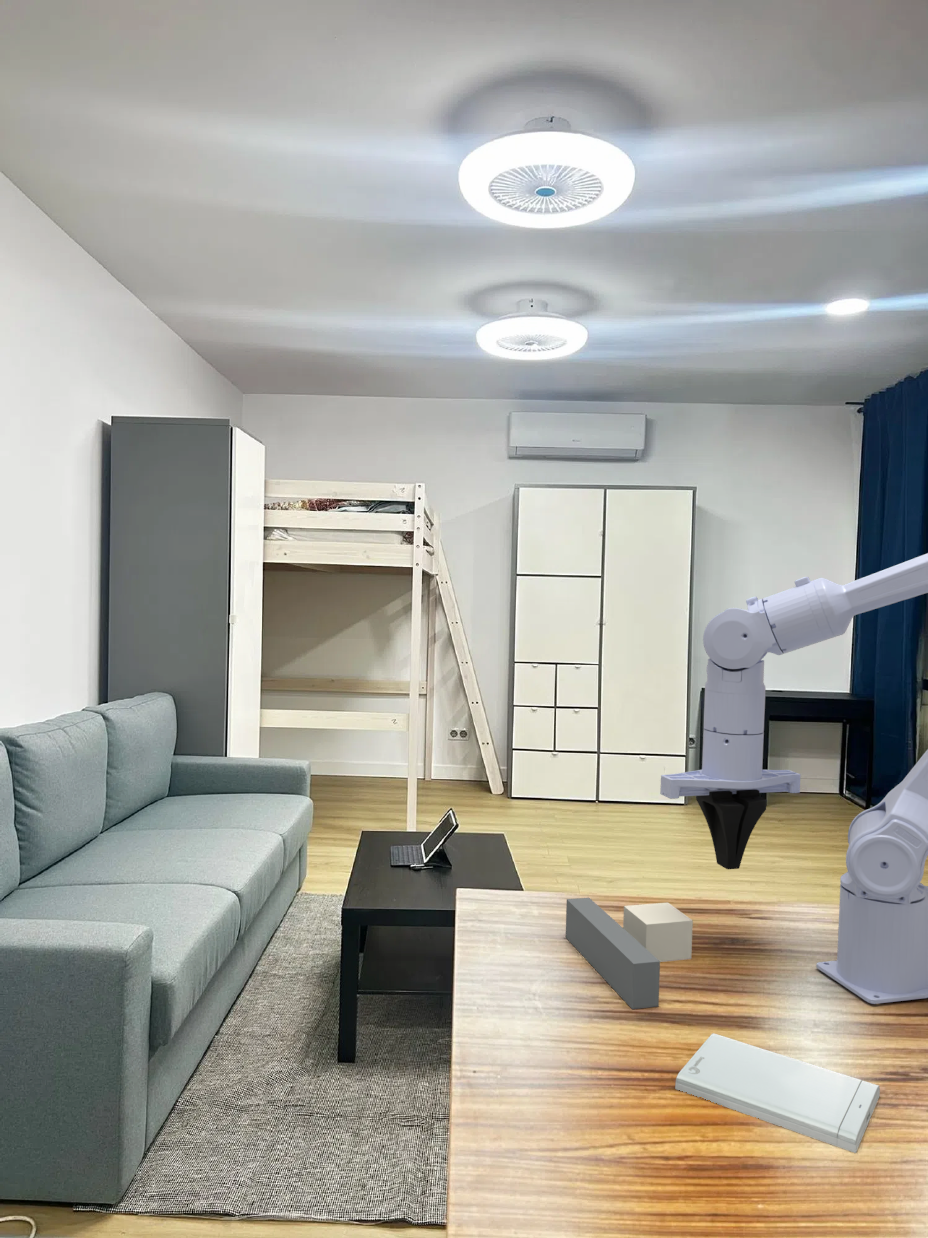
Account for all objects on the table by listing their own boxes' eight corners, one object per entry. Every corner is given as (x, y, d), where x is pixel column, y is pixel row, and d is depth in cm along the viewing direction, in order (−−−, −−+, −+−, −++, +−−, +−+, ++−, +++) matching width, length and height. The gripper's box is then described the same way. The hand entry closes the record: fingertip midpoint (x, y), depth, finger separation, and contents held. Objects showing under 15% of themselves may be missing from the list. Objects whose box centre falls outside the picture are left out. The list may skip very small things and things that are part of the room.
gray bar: (588, 935, 95) (589, 897, 94) (658, 1006, 79) (660, 961, 79) (565, 937, 94) (566, 899, 94) (632, 1009, 78) (633, 964, 78)
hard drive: (675, 1075, 66) (856, 1136, 59) (713, 1030, 73) (880, 1081, 66) (674, 1097, 66) (855, 1161, 59) (712, 1050, 73) (879, 1103, 66)
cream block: (666, 940, 94) (667, 902, 94) (691, 960, 89) (692, 920, 89) (622, 944, 93) (623, 906, 93) (645, 965, 88) (646, 924, 88)
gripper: (772, 722, 95) (767, 849, 96) (647, 725, 91) (643, 858, 92) (816, 734, 88) (810, 871, 89) (683, 737, 84) (677, 881, 85)
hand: (728, 866), depth 90 cm, fingers closed
